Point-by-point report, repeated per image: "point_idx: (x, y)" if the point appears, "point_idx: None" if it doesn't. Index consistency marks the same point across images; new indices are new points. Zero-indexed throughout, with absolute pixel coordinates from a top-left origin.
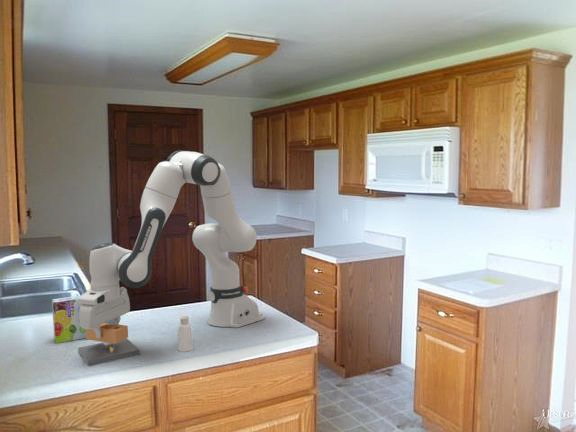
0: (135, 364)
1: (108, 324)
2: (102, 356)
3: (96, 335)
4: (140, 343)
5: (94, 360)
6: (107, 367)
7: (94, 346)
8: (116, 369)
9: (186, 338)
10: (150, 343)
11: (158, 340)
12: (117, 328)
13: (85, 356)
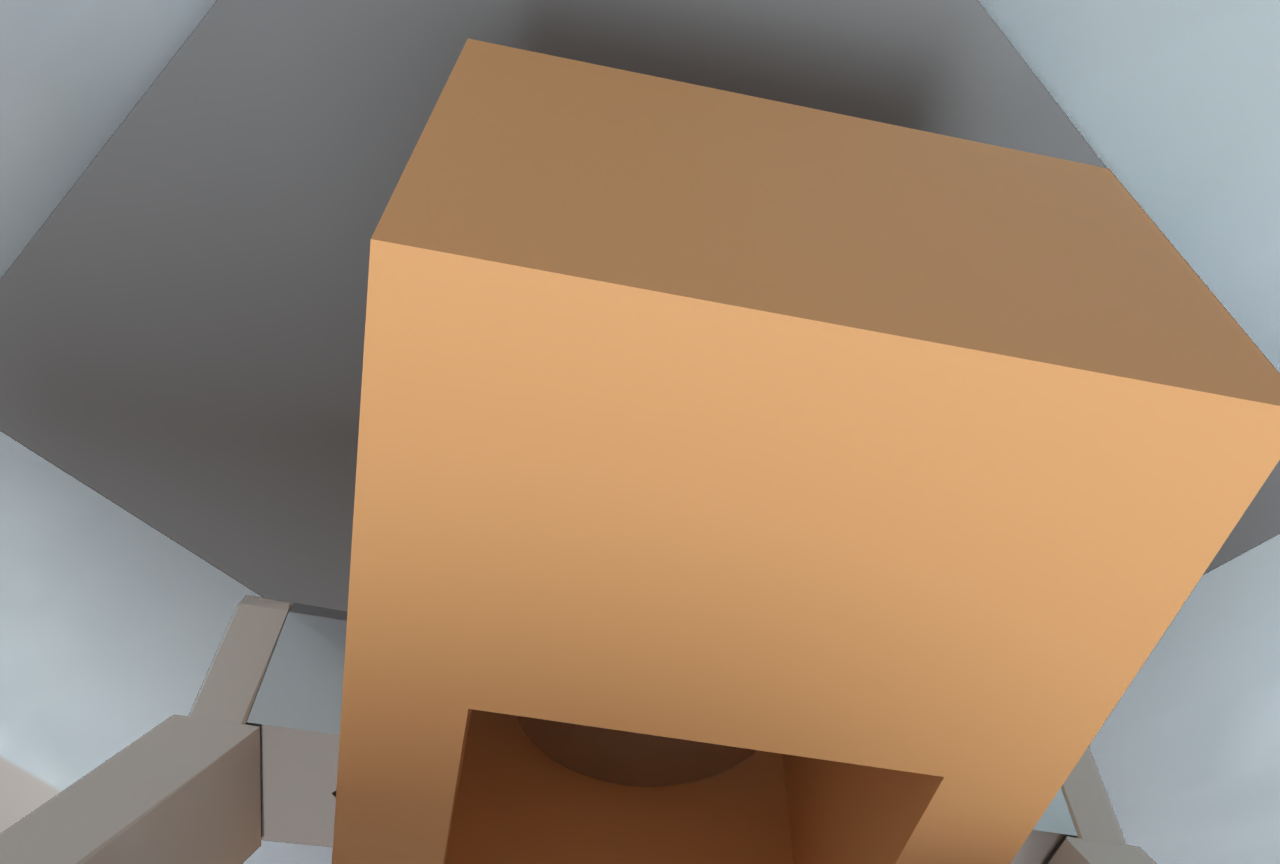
0: (318, 860)
1: (915, 847)
2: (234, 517)
3: (222, 663)
4: (1165, 668)
5: (51, 444)
6: (78, 625)
7: (764, 41)
8: (79, 744)
9: None
10: (1140, 783)
11: (1269, 829)
12: None
13: (91, 193)
